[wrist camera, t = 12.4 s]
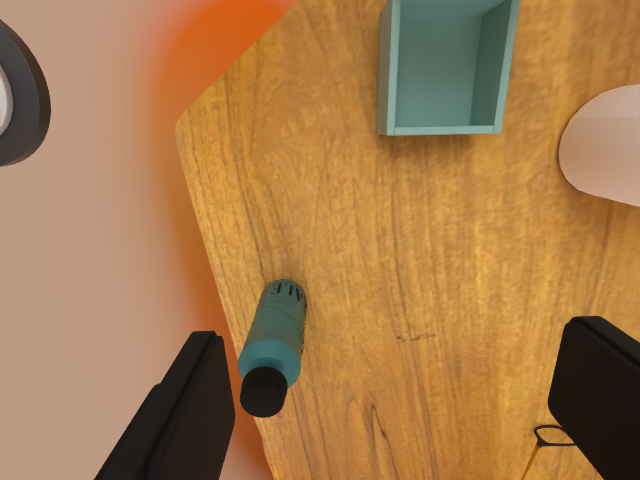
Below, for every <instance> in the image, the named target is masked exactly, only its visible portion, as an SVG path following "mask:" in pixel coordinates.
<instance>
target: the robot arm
mask: <svg viewBox="0 0 640 480" xmlns="http://www.w3.org/2000/svg"><path fill="white" fill-rule="evenodd" d="M12 112H13V96H12V91H11V86H10V84H9V81H8V78H7V76H6V74H5V72H4V70H3V68H2V66H1V65H0V135H1V134H2V133H3V132H4V131H5V129H6V128H7V127H8V125H9V122H10V120H11V117H12ZM548 407H549V410H550V412H551V414H552V415H553V417H554V418H555V419H556V421H557V422H558V423H559V424H560V425H561V427H562V428H563V429H564V430H565V432H566V433H567V434H568V435H569V437H570V438H571V439H572V440H573V442H574V443H575V444H576V445H577V447H578V448H579V449H580V450H581V452H582V453H583V454H584V455H585V457H586V458H587V459H588V460H589V462H590V463H591V464H592V465H593V466H594V468H595V469H596V470H597V471H598V473H599V474H600V475H601V476H602V478H603V479H604V480H640V343H639V342H638V341H636V340H635V339H633V338H632V337H630V336H629V335H627V334H626V333H624V332H623V331H621V330H620V329H619V328H617V327H616V326H614V325H613V324H611V323H610V322H608V321H607V320H605V319H604V318H602V317H600V316H581V317H573V318H572V319H571V320H570V322H569V323H567V324H566V325H565V327H564V330H563V335H562V339H561V344H560V348H559V352H558V357H557V361H556V366H555V370H554V375H553V379H552V383H551V388H550V392H549V397H548ZM234 422H235V409H234V403H233V397H232V390H231V384H230V379H229V372H228V366H227V360H226V353H225V348H224V341H223V338H222V336H217V335H216V333H215V331H197V332H192V333H191V334H190V336H189V338H188V339H187V341H186V343H185V344H184V346H183V347H182V349H181V351H180V352H179V354H178V356H177V357H176V359H175V360H174V362H173V364H172V365H171V367H170V368H169V370H168V372H167V373H166V375H165V377H164V378H163V380H162V381H161V383H160V384H157V385H155V386H154V387H153V388H152V389H151V391H150V392H149V394H148V395H147V397H146V398H145V400H144V402H143V403H142V405H141V406H140V408H139V409H138V411H137V413H136V414H135V416H134V417H133V419H132V420H131V422H130V424H129V425H128V427H127V428H126V430H125V431H124V433H123V435H122V436H121V438H120V439H119V441H118V443H117V444H116V446H115V447H114V449H113V450H112V452H111V453H110V455H109V457H108V458H107V460H106V461H105V463H104V464H103V466H102V468H101V469H100V471H99V472H98V474H97V476H96V477H95V479H94V480H219V477H220V473H221V470H222V466H223V463H224V459H225V456H226V452H227V449H228V445H229V442H230V438H231V435H232V431H233V427H234Z"/></svg>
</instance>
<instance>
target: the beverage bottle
mask: <svg viewBox="0 0 640 480" xmlns="http://www.w3.org/2000/svg"><path fill="white" fill-rule="evenodd" d="M259 301H260V302H259V305H258V306H257V310H256V313H255V317H254V320H253V323H252V325H251V328H250V331H249V334H248V336H247V339H246V342H245V345H244V347H243V350H242V352H241V354H240V356H239V360H238V369H239V373H240V375H241V377H242V379H243V382H242V387H241V388H242V389H241V394H240V402H241V405H242V407H243V409H244V410H245V411H247V413H249V414H251V415H253V416H256V417H261V418H266V417H271V416H273V415H275V414H277V413H278V412H279V411H280V410H281V409H282V407H283V405H284V401H285V397H286V394H287V389H288V388H289V387H290V386H292V385H293V384H294V383H295V382H296V380H297V378H298V377H299V374H300V370H301V362H300V361H301V360H302V359H301V355H302V352H303V351H302V345H303V344H304V341H303V339H304V336H305V333H304V334H303V332H304V328H305V326H304V325H306V324H304V321H305V322H306V320H305V319H306V317H305V314H306V313H305V312H306V311H305V310H306V309H307V301H306V296H305V293H304V291H303V289H302V288H301V287H300V286H299V285H298V284H296V283H295V282H292V281H289V280H277V281H274V282H272V283H270V284H268V286H267V287H266V288H265V289H264V291H263V293H262V296H261V299H260V300H259ZM303 335H304V336H303ZM303 348H304V347H303Z"/></svg>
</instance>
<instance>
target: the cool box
mask: <svg viewBox="0 0 640 480" xmlns="http://www.w3.org/2000/svg"><path fill="white" fill-rule="evenodd" d="M519 7H520V0H387V2H386V4H385V6H384V8H383V10H382V11H381V13H380V38H379V68H378V98H377V127H376V134H379V135H386V136H393V135H395V136H398V135H448V134H499V133H501V128H502V121H503V114H504V108H505V101H506V94H507V88H508V81H509V74H510V67H511V61H512V54H513V47H514V40H515V34H516V27H517V20H518V14H519Z"/></svg>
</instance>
